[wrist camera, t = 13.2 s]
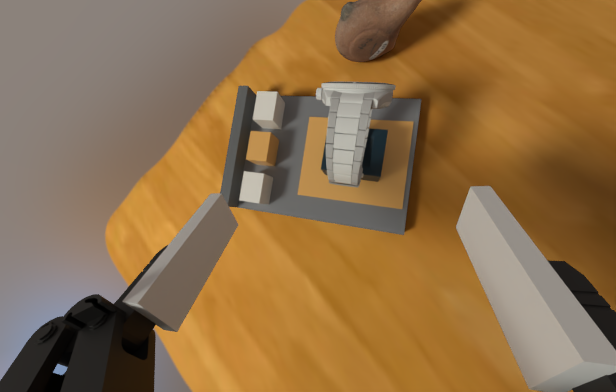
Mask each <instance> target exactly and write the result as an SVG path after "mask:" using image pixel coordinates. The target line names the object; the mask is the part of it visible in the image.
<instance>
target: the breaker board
mask: <svg viewBox="0 0 616 392" xmlns="http://www.w3.org/2000/svg"><path fill="white" fill-rule="evenodd" d="M420 106H421V99H402V98H392V101H391V103H390V105H389V106H388V107H385V108H382V109H372V114H371V121H370V126H369V128H371V129H384V130H388V134H387V140H386V147H385V153H384V159H383V166H382V172H381V177H380V179H379V181H378V182H375V181H367V180H361V182H360V185H359V187H348V186H341V185H335V184H330V183H329V180H328V175H325V174H324V172H323V171H322V170H321V164H322V159H323V153H324V147H325V141H326V135H327V128H328V116H329V112H330V106H326V105H325V104H324V103H323V101H322V100H317V99H316V97H312V96H280V95H279V93H278V92H269V91H257V95H256V94H255V93H254V92H253V91H252V90H251V89H250V88H249V86H239V88H238V94H237V99H236V105H235V111H234V117H233V123H232V128H231V134H230V140H229V146H228V152H227V157H226V163H225V169H224V175H223V181H222V186H221V192H220V194H221V193H222V195H223V197H224V199H225V201H226V203H227V205H228V206H229V207H239V208H245V209H251V210H257V211H263V212H269V213H275V214H281V215H287V216H293V217H299V218H305V219H311V220H317V221H323V222H329V223H335V224H341V225H347V226H353V227H359V228H365V229H371V230H377V231H383V232H389V233H395V234H401V235H404V230H405V223H406V215H407V207H408V199H409V192H410V184H411V176H412V168H413V161H414V153H415V145H416V137H417V130H418V122H419V114H420ZM367 128H368V127H367Z"/></svg>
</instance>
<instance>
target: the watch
mask: <svg viewBox="0 0 616 392" xmlns="http://www.w3.org/2000/svg"><path fill="white" fill-rule="evenodd" d="M393 90H395V85H392V84H387V83H374V82H327V83H322V88H317V90H316V99H317V100H322V101H323V103H324V104H325V105H326V106H330V112H329V116H328V128H327V135H326V141H325V147H324V153H323V159H322V164H321V170H322V171H323V172H324V174H325V175H328V180H329V183H330V184H335V185H341V186H348V187H359V185H360V182H361V180H367V181H375V182H378V181H379V179H380V177H381V172H382V166H383V159H384V153H385V147H386V140H387V134H388V130H384V129H371V128H369V126H370V121H371V114H372V109H382V108H385V107H388V106H389V105H390V103H391V101H392V96H393ZM367 127H368V128H367Z"/></svg>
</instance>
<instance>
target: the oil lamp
mask: <svg viewBox="0 0 616 392" xmlns="http://www.w3.org/2000/svg"><path fill="white" fill-rule="evenodd" d="M420 2H421V0H358V1H356V2H348V3H347V4H346V5H344V6H343V8H342V11H341V17H340V20H339V23H338V25H337V28H336V33H335V42H336V46H337V49H338V51H339V52H340V54H341V55H342V56H343V57H345V58H346V59H348V60H351V61H355V62H365V61H370V60H373V59H375V58H377V57H380V56H382V55H383V54H385V53H387V52H389V51H391V50H392V49H393V48H394V46H395V41H396V39H397V37H398V34H399V31H400V28H401V27H402V25H403V24H404V23H405V21H406V20H407V19H408V18H409V16H410V15H411V14H412V13H413V11H414V10H415V9H416V7H417V6H418V4H419V3H420Z"/></svg>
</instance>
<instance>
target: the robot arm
mask: <svg viewBox="0 0 616 392" xmlns="http://www.w3.org/2000/svg"><path fill="white" fill-rule="evenodd" d="M237 226H238V223H237V221H236V220H235V218H234V216H233V214H232V212H231V210H230V208H229V206H228V205H227V203H226V201H225V199H224V197H223V195H222V193H221V194H210V195H209V197H208V198H207V199H206V200H205V201H204V203H203V204H202V205H201V206H200V208H199V209H198V210H197V211H196V212H195V214H194V215H193V216H192V217H191V218H190V220H189V221H188V222H187V223H186V225H185V226H184V227H183V228H182V229H181V231H180V232H179V233H178V234H177V235H176V237H175V238H174V239H173V240H172V242H171V243H170V244H169V245H167V246H165V247H164V248H163V249H162V250H160V251H159V252H158V253H157V254H156V255H155V256H154V257H153V259H152V260H151V261H150V263H149V264H148V265H147V266H146V267H145V268H144V269H143V272H141V273H140V274H139V275H138V276H137V278H136V279H135V280H134V281H133V282H132V284H131V285H130V286H129V287H128V288H127V290H126V291H125V292H124V293H123V294H122V295H121V297H120V298H119V299H118V300H117V301H116V302H115V303H114V304H112V303H111V302H109V301H108V300H106V299H105V298H103V297H102V296H100V295H99V294H98V295H91V296H88V297H86V298H84V299H82V300H81V301H79V302H78V303H77V304H75V305H74V306H73V307H72V308H71V309H70V310H69V311H68V312H67V313H66V314H65V315H64V317H63V316H62V317H57V318H55V319H53V320H51V321H49V322H47V323H46V324H44V325H43V326H41V327H40V328H39V329H38V330H37V331H36V332H35V333H34V334H33V335H32V336H31V338H30V339H29V340H28V341H27V343H26V344H25V346H24V347H23V349H22V350H21V352H20V353H19V355H18V356H17V358H16V359H15V360H14V362H13V363H12V365H11V366H10V368H9V369H8V371H7V372H6V374H5V375H4V376H3V378H2V379H1V381H0V392H154V370H155V331H154V330H153V328H154V326H155V325H157V326H159V327H160V328H162V329H163V330H168V331H175V332H177V331H178V330H179V328H180V326H181V324H182V323H183V321H184V319H185V317H186V316H187V314H188V312H189V310H190V309H191V307H192V305H193V303H194V302H195V300H196V298H197V296H198V295H199V293H200V291H201V289H202V288H203V286H204V284H205V282H206V281H207V279H208V277H209V275H210V274H211V272H212V270H213V268H214V267H215V265H216V263H217V261H218V260H219V258H220V256H221V254H222V253H223V251H224V249H225V247H226V246H227V244H228V242H229V240H230V239H231V237H232V235H233V233H234V232H235V230H236V228H237ZM456 229H457V231H458V233H459V236H460V238H461V240H462V242H463V244H464V247H465V249H466V251H467V253H468V256H469V258H470V260H471V262H472V264H473V267H474V269H475V271H476V273H477V275H478V278H479V280H480V282H481V284H482V286H483V289H484V291H485V293H486V295H487V297H488V300H489V302H490V304H491V306H492V308H493V311H494V313H495V315H496V317H497V319H498V322H499V324H500V326H501V328H502V330H503V333H504V335H505V337H506V339H507V341H508V344H509V346H510V348H511V350H512V352H513V355H514V357H515V359H516V361H517V363H518V366H519V368H520V370H521V372H522V374H523V377H524V379H525V381H526V383H527V385H528V388H529V389H532V390H538V391H544V392H567V391H570V390H573V391H574V392H616V312H615V311H614V310H611V308H610V307H611V306H610V305H609V304H608V303H607V302H606V301H605V299H604V298H603V297H602V296H600V295H599V294H598V291H597V290H596V289H595V288H594V287H593V285H592V284H591V283H590V282H589V281H588V280H587V278H586V277H585V276H584V275H583V274H581V273H580V272H578V271H577V270H576V269H574V268H573V267H571V266H570V265H569V264H567V263H566V262H565V261H547V260H546V258H545V257H544V256H543V254H542V253H541V252H540V251H539V249H538V248H537V247H536V245H535V244H534V243H533V241H532V240H531V239H530V237H529V236H528V235H527V233H526V232H525V231H524V230H523V228H522V227H521V226H520V224H519V223H518V222H517V220H516V219H515V218H514V216H513V215H512V214H511V213H510V211H509V210H508V209H507V207H506V206H505V205H504V203H503V202H502V201H501V199H500V198H499V197H498V196H497V194H496V193H495V192H494V190H493V189H492V188H491V186H471V187H470V189H469V192H468V195H467V198H466V200H465V203H464V206H463V209H462V212H461V214H460V217H459V220H458V223H457V226H456ZM57 364H60V365H63V366H66V367H68V368H67V371H66V372H65V373H64V374H63V375H59V374H55V373H53V371H54V369H55V367H56V365H57Z"/></svg>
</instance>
